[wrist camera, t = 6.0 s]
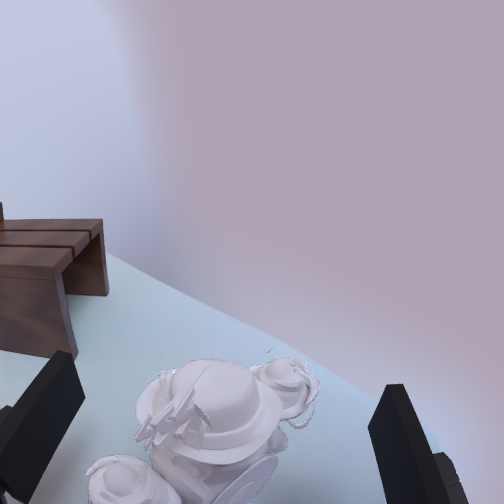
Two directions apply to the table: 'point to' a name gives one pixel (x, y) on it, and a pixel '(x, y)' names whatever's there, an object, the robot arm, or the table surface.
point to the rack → (47, 280)
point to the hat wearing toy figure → (208, 434)
